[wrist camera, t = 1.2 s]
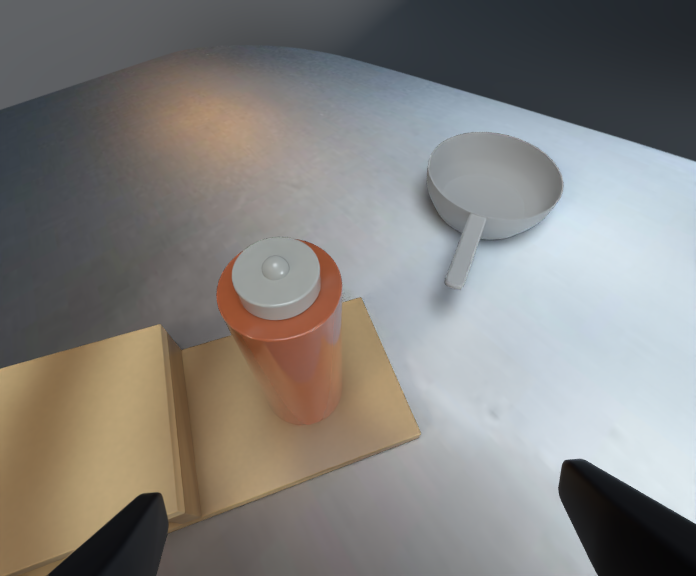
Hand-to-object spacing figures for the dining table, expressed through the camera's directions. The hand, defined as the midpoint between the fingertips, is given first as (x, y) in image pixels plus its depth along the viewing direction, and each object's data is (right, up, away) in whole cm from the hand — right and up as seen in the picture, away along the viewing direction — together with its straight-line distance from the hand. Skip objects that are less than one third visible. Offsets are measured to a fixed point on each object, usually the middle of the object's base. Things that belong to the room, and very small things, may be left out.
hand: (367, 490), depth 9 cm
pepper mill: (-3, -2, +15) cm, 16 cm away
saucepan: (+10, +9, +24) cm, 28 cm away
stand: (-9, -4, +15) cm, 18 cm away
